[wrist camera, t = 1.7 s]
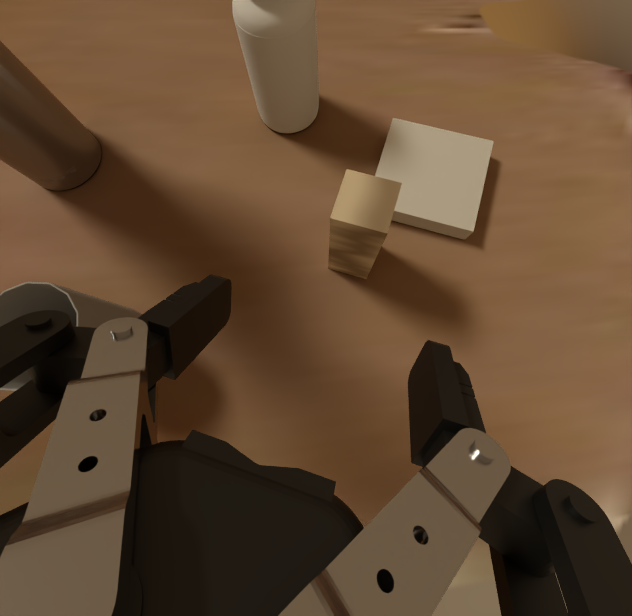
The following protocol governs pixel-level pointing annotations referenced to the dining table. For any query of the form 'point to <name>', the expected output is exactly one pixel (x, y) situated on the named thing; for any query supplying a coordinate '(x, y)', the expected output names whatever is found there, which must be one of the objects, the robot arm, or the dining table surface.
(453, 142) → the block
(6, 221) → the dining table surface
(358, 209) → the maple block
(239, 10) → the pill bottle
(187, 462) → the robot arm
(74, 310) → the cup
